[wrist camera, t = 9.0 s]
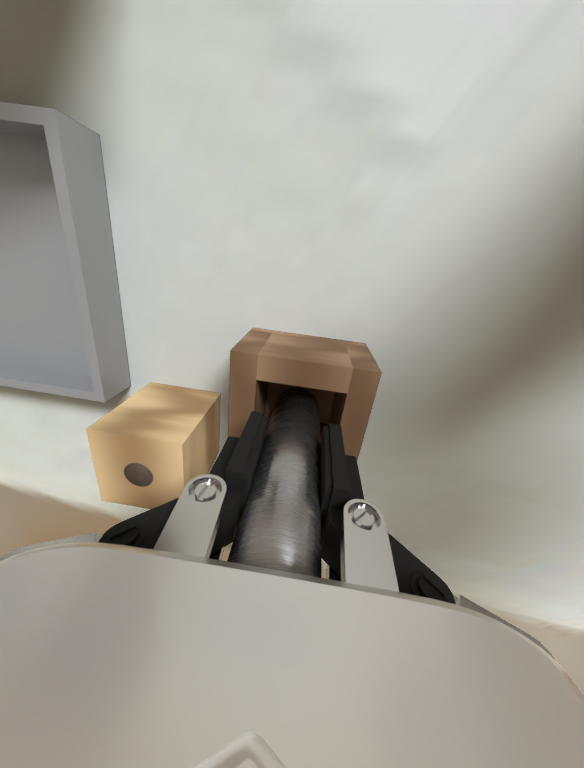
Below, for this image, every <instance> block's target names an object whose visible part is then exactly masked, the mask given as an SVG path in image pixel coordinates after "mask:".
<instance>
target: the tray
mask: <svg viewBox="0 0 584 768" xmlns="http://www.w3.org/2000/svg"><path fill="white" fill-rule="evenodd" d="M0 386H6V387H12V388H18V389H24V390H30V391H37V392H43V393H49V394H55V395H61V396H67V397H73V398H80V399H86V400H92V401H98V402H104V403H105V402H107V401H108V400H110V399H111V398H113V397H114V396H116V395H117V394H119V393H120V392H122V391H123V390H125V389H126V388H128V387H129V386H131V383H130V375H129V367H128V359H127V351H126V343H125V335H124V327H123V319H122V311H121V303H120V295H119V287H118V279H117V271H116V263H115V255H114V247H113V239H112V231H111V223H110V216H109V208H108V200H107V192H106V184H105V176H104V168H103V160H102V152H101V144H100V136H99V134H97V133H96V132H94V131H92V130H90V129H89V128H87V127H85V126H83V125H82V124H80V123H78V122H76V121H75V120H73V119H71V118H70V117H68V116H66V115H64V114H63V113H61V112H59V111H57V110H56V109H54V108H46V107H39V106H31V105H24V104H16V103H9V102H1V101H0Z"/></svg>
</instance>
